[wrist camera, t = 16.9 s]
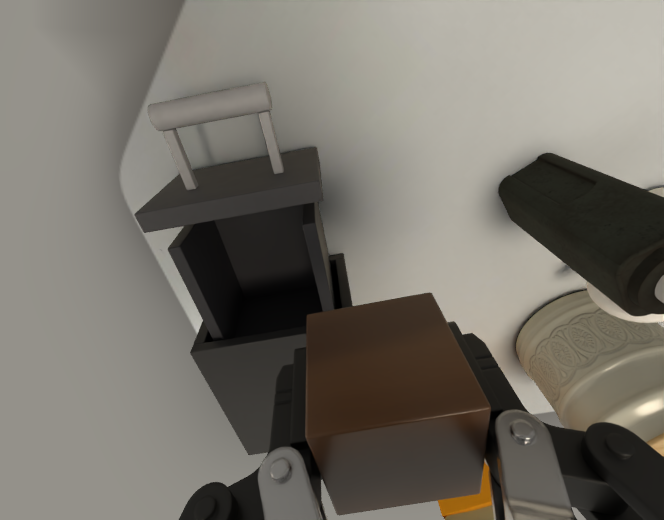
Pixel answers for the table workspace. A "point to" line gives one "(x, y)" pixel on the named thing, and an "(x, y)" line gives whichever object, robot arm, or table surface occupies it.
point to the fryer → (255, 369)
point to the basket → (243, 223)
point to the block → (392, 406)
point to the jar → (597, 367)
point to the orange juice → (470, 503)
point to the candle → (594, 228)
